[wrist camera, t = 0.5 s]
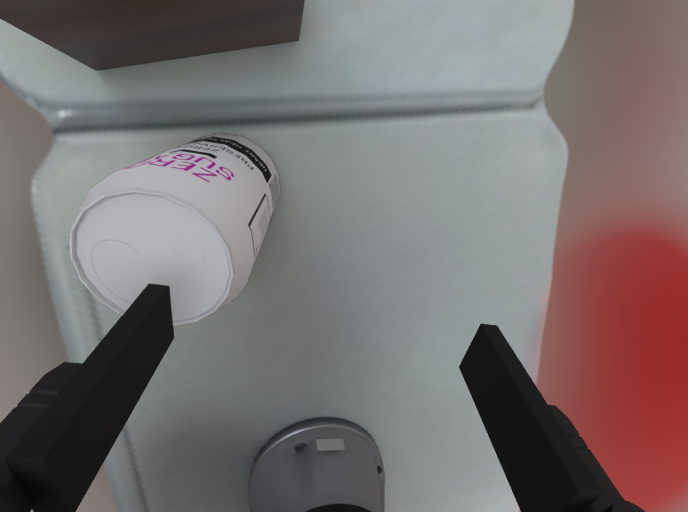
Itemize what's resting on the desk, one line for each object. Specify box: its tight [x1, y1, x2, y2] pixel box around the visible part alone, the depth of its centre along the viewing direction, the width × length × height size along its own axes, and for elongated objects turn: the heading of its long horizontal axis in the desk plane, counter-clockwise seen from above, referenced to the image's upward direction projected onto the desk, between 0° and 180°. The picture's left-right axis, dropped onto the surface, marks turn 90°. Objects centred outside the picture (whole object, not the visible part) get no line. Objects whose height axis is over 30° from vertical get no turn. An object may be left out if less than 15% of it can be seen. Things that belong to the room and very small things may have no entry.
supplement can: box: [70, 133, 280, 327], centre depth 22 cm, size 8×8×15 cm
